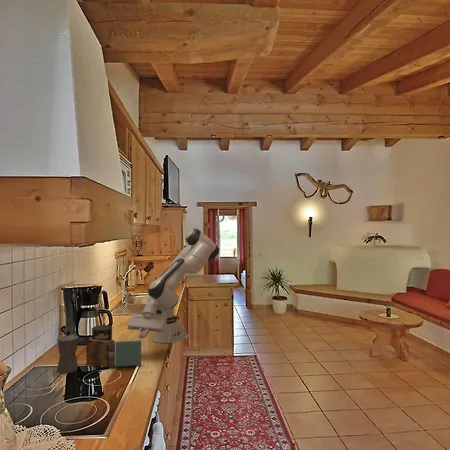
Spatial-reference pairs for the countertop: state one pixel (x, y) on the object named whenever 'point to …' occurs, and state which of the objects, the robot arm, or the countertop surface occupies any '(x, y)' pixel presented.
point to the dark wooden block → (99, 353)
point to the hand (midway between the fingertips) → (141, 337)
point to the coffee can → (102, 332)
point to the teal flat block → (126, 353)
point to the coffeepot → (67, 353)
